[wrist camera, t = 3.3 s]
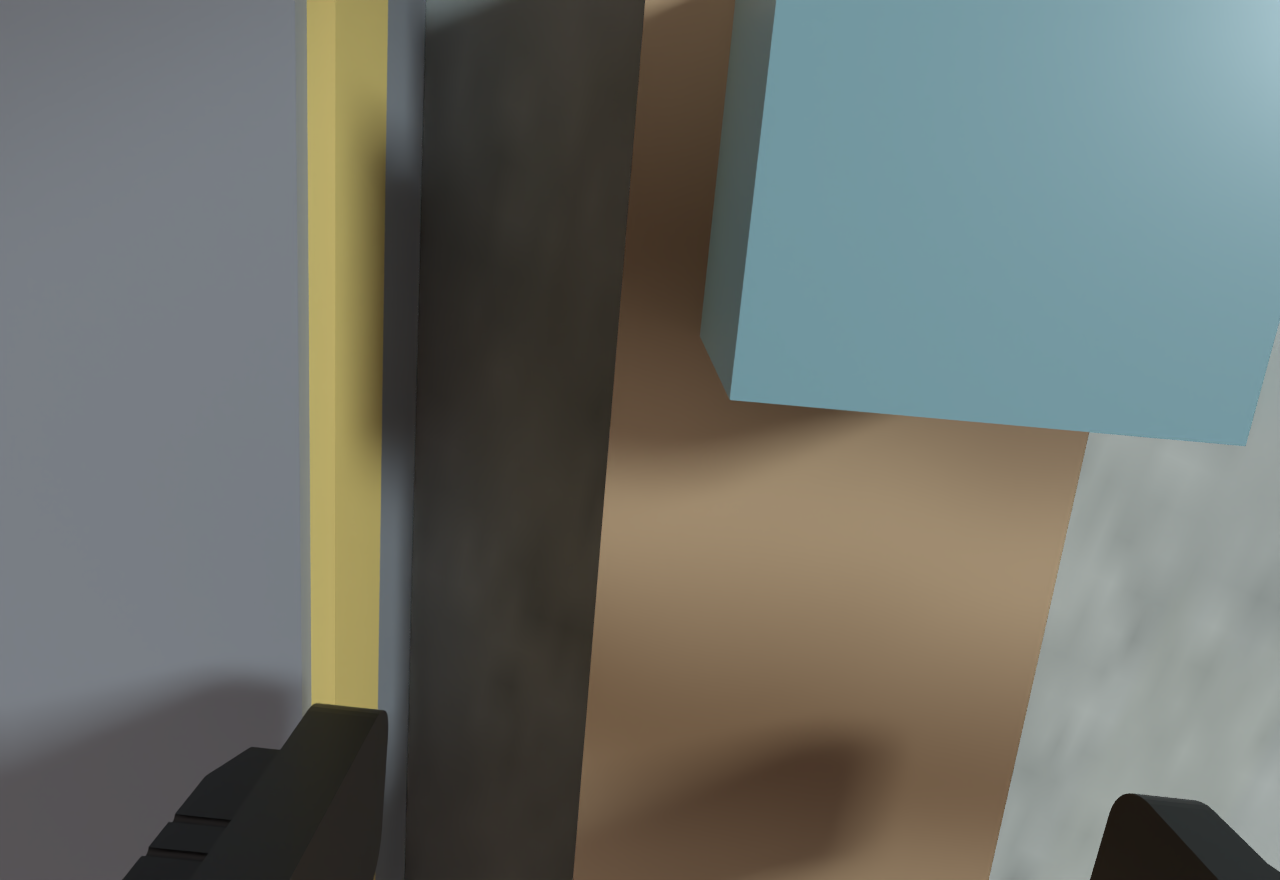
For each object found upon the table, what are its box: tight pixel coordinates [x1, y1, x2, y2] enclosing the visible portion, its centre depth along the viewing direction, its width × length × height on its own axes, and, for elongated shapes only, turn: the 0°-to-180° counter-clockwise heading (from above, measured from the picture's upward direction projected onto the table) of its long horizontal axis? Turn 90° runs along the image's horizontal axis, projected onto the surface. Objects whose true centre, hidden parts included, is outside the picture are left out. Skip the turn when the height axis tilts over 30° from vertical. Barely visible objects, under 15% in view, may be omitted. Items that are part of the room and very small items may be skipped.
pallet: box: [573, 0, 1089, 880], centre depth 14 cm, size 21×6×4 cm, turn 175°
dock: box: [0, 0, 426, 880], centre depth 13 cm, size 9×23×5 cm, turn 175°
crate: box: [700, 0, 1280, 446], centre depth 8 cm, size 4×4×4 cm
